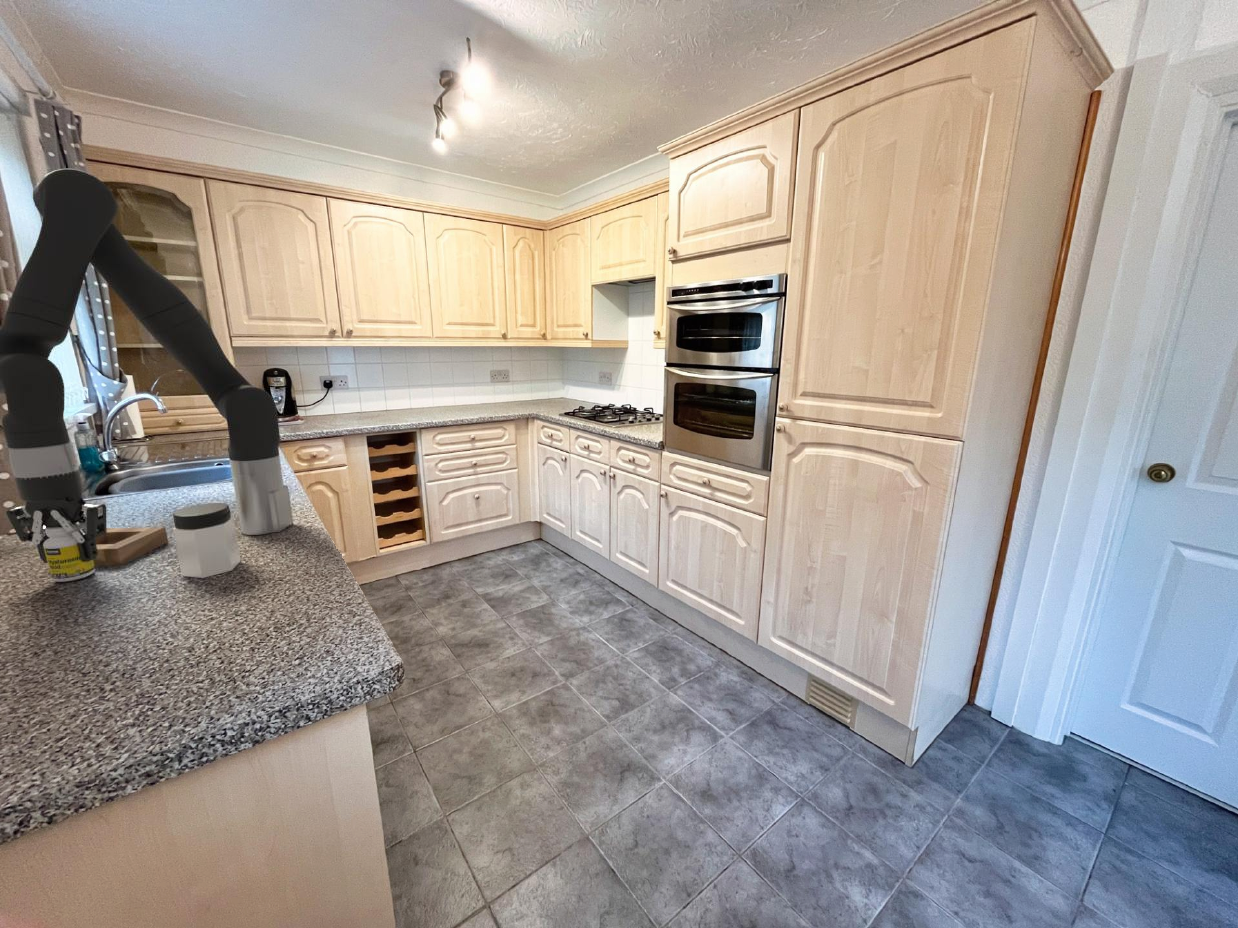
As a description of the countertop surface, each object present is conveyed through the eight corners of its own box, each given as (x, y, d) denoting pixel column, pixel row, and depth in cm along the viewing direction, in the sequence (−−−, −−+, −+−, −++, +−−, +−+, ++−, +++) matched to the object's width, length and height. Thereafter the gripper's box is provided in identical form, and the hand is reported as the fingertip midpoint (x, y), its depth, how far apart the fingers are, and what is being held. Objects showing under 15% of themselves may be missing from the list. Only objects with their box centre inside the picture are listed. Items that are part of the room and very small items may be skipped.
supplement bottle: (46, 585, 87) (31, 532, 85) (61, 572, 92) (48, 522, 89) (88, 578, 89) (75, 527, 87) (101, 567, 94) (89, 518, 92)
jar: (229, 575, 92) (218, 514, 90) (175, 581, 90) (162, 519, 87) (246, 556, 101) (236, 500, 98) (196, 562, 98) (185, 504, 95)
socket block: (168, 541, 107) (165, 526, 107) (121, 565, 96) (117, 548, 95) (106, 543, 106) (102, 528, 105) (51, 567, 94) (46, 550, 94)
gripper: (111, 464, 90) (132, 551, 94) (22, 466, 89) (46, 554, 93) (73, 475, 83) (96, 568, 87) (-26, 477, 81) (3, 571, 85)
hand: (70, 560), depth 90 cm, fingers closed on supplement bottle, 5 cm apart
